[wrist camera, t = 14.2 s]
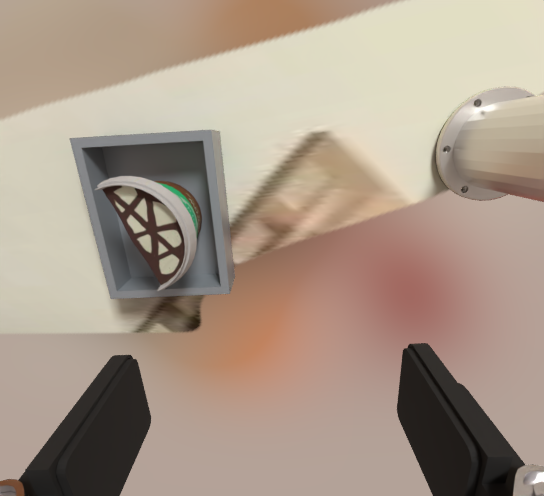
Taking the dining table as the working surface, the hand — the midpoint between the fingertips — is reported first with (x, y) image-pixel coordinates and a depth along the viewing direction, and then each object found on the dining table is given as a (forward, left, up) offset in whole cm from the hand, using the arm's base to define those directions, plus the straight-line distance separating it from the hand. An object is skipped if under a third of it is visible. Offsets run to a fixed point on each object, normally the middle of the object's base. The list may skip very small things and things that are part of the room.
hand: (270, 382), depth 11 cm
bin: (+14, 0, -30) cm, 33 cm away
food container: (+11, -1, -30) cm, 32 cm away
